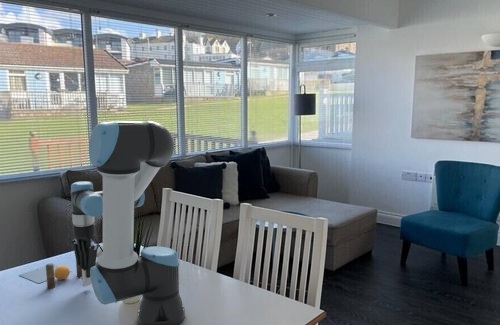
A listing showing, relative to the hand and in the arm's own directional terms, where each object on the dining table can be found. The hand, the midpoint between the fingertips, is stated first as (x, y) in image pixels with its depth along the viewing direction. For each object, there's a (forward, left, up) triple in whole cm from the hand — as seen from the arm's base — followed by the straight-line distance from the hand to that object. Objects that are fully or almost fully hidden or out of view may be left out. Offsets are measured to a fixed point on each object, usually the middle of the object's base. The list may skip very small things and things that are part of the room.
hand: (87, 284), depth 153 cm
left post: (+13, +6, -2) cm, 15 cm away
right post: (+13, -6, -2) cm, 15 cm away
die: (+17, -22, -2) cm, 28 cm away
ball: (+16, 0, +1) cm, 16 cm away
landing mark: (+27, 0, -2) cm, 27 cm away
